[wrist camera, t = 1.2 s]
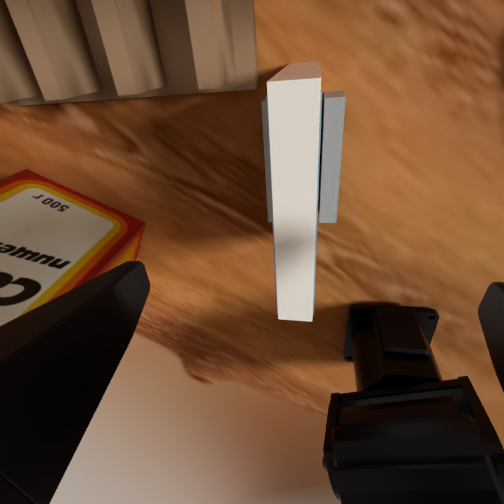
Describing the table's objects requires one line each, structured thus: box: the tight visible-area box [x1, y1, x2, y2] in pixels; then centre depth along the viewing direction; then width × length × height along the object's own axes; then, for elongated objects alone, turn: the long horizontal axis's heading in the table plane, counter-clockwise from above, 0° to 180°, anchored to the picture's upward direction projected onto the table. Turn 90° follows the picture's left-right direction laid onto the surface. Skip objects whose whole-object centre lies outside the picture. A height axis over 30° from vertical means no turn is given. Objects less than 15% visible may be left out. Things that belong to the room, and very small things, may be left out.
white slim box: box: [266, 61, 322, 322], centre depth 16 cm, size 10×2×9 cm, turn 5°
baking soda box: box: [0, 169, 145, 326], centre depth 19 cm, size 10×6×16 cm
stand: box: [261, 91, 346, 223], centre depth 18 cm, size 7×4×2 cm, turn 5°
